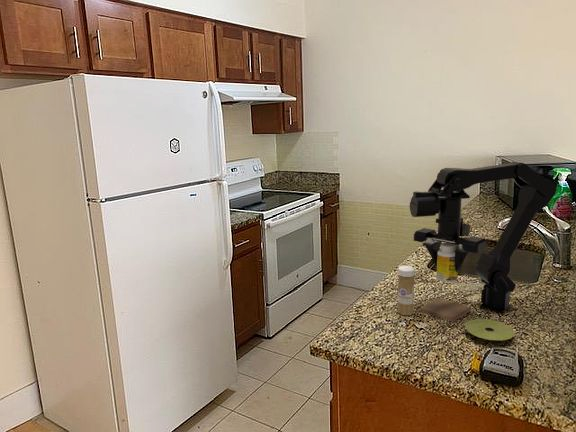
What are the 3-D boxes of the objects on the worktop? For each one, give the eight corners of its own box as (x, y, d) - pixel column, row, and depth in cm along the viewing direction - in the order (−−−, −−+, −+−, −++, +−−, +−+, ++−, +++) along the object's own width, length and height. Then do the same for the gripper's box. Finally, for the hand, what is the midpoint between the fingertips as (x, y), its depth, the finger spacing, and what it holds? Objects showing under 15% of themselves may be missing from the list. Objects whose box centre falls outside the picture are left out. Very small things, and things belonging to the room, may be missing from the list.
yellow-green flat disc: (498, 352, 100) (499, 344, 100) (455, 334, 109) (456, 327, 109) (522, 337, 107) (523, 330, 106) (480, 321, 116) (480, 314, 115)
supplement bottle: (448, 284, 117) (450, 248, 115) (432, 279, 122) (433, 244, 119) (461, 280, 120) (463, 244, 118) (444, 274, 125) (446, 240, 122)
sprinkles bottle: (396, 314, 121) (397, 269, 119) (398, 308, 126) (399, 264, 123) (412, 317, 120) (414, 271, 117) (414, 310, 124) (415, 265, 121)
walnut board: (470, 310, 122) (470, 307, 122) (453, 321, 116) (453, 318, 116) (438, 300, 130) (438, 297, 130) (420, 310, 123) (420, 307, 123)
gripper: (497, 214, 115) (493, 269, 119) (433, 206, 129) (432, 255, 132) (478, 221, 108) (475, 280, 111) (413, 212, 122) (411, 264, 125)
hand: (447, 269), depth 120 cm, fingers closed on supplement bottle, 5 cm apart
